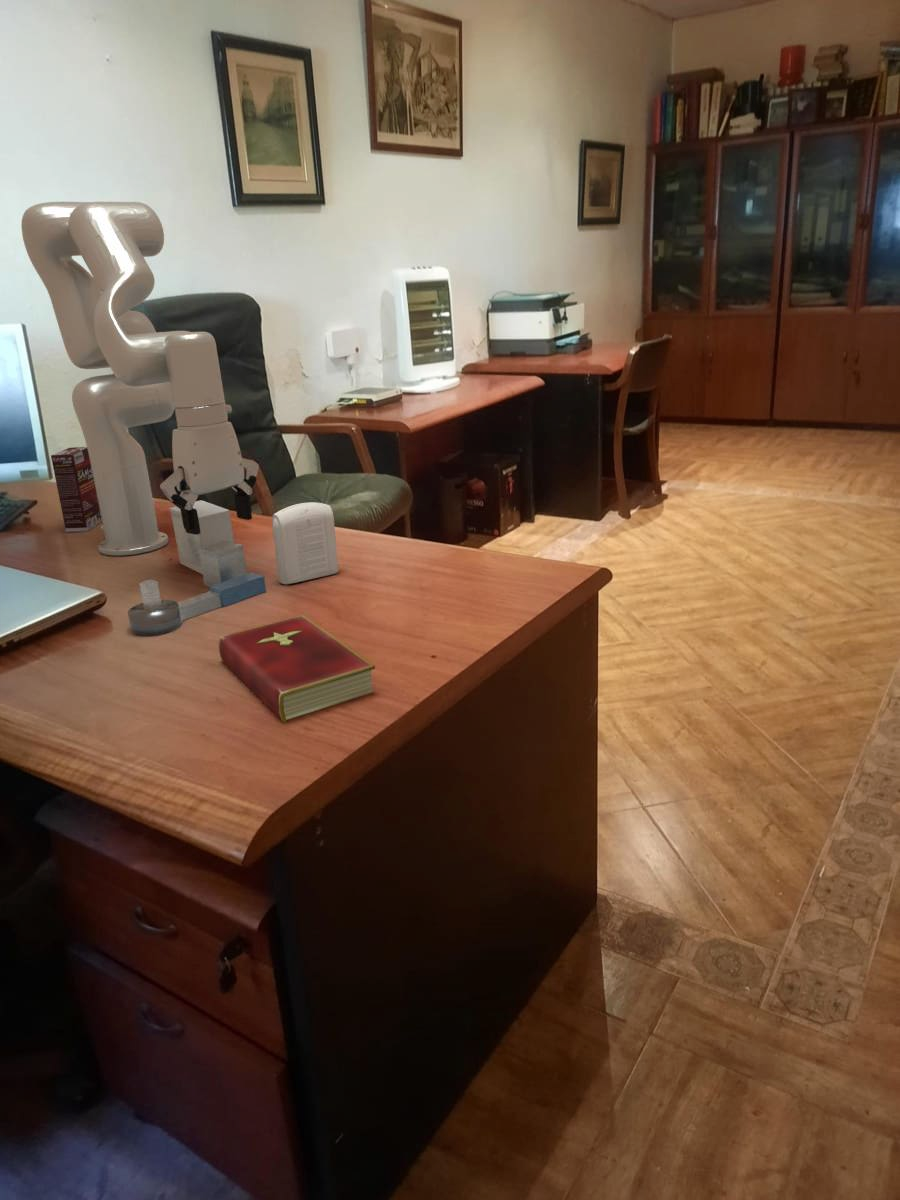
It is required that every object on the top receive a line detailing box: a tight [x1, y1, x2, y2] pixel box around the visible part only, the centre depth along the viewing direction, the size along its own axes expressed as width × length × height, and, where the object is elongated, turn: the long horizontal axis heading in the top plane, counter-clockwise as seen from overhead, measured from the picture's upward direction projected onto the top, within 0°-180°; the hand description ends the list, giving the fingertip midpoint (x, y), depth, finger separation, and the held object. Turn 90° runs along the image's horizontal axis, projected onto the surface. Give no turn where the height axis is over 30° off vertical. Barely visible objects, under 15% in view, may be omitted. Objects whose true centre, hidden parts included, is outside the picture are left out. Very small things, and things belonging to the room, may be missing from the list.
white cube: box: [199, 540, 248, 588], centre depth 143 cm, size 5×5×6 cm
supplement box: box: [50, 446, 102, 533], centre depth 181 cm, size 9×5×16 cm, turn 179°
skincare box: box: [169, 499, 235, 575], centre depth 152 cm, size 10×6×10 cm, turn 41°
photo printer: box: [271, 501, 339, 585], centre depth 143 cm, size 10×4×12 cm, turn 123°
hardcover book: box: [218, 614, 376, 723], centre depth 109 cm, size 12×21×4 cm, turn 32°
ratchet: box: [127, 572, 267, 637], centre depth 132 cm, size 7×22×7 cm, turn 139°
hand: (219, 525), depth 140 cm, fingers open, 9 cm apart
